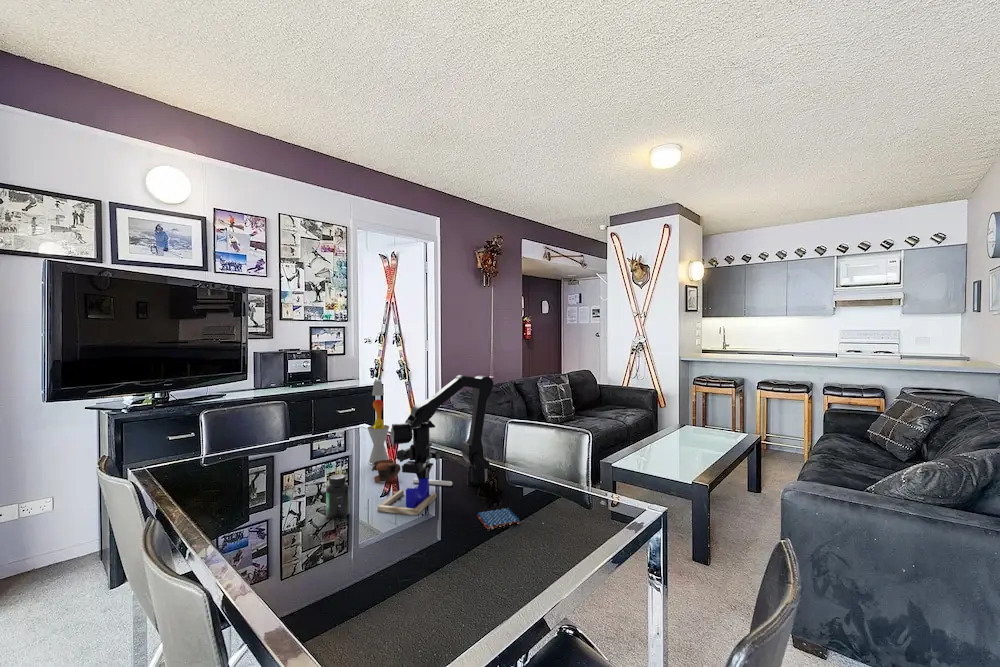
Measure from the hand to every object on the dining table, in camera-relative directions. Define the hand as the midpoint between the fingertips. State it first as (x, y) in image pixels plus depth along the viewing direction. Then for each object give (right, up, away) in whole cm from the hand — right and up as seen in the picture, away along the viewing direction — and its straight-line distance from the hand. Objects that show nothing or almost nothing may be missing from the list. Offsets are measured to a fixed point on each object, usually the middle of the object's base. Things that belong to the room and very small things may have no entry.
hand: (422, 485), depth 163 cm
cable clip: (-1, -3, -8) cm, 9 cm away
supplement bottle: (-23, -3, -19) cm, 30 cm away
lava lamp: (-25, -2, +38) cm, 45 cm away
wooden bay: (-3, -3, -10) cm, 10 cm away
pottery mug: (-16, -3, +16) cm, 23 cm away
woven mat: (+26, -3, -24) cm, 36 cm away
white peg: (+2, -2, +9) cm, 9 cm away
